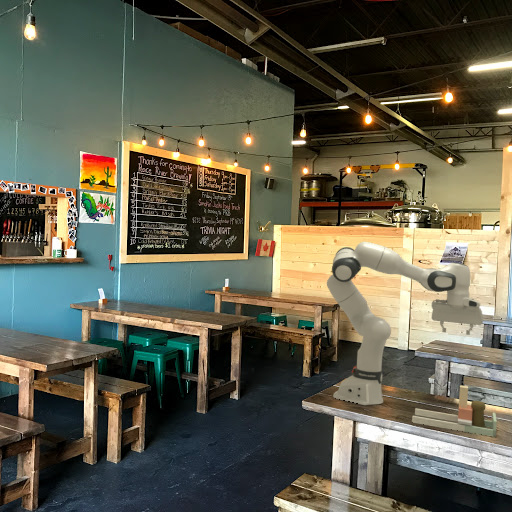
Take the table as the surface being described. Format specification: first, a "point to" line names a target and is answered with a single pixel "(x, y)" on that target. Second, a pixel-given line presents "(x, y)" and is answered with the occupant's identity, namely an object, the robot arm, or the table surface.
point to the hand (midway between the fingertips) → (455, 333)
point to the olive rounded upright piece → (478, 414)
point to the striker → (464, 407)
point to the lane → (451, 425)
